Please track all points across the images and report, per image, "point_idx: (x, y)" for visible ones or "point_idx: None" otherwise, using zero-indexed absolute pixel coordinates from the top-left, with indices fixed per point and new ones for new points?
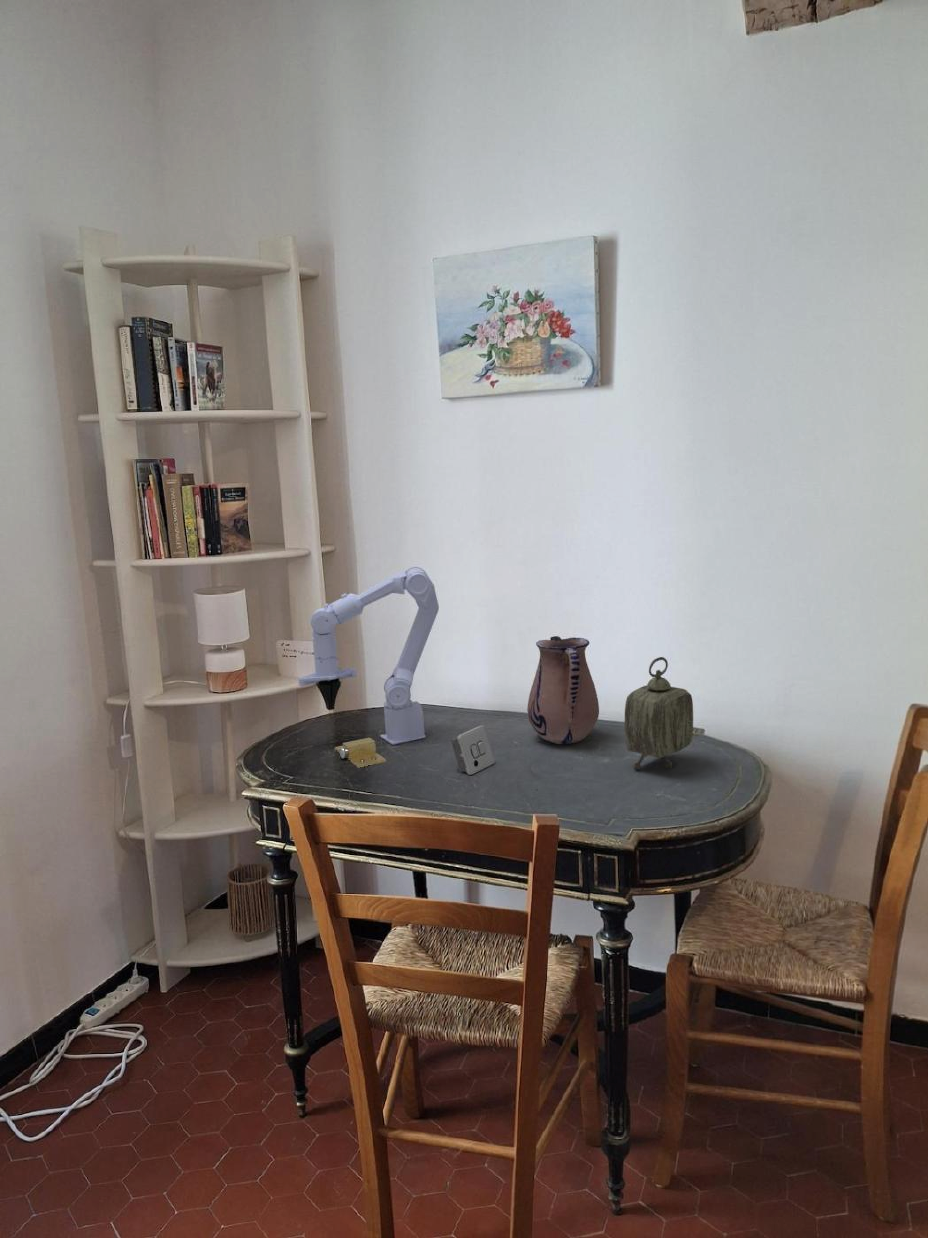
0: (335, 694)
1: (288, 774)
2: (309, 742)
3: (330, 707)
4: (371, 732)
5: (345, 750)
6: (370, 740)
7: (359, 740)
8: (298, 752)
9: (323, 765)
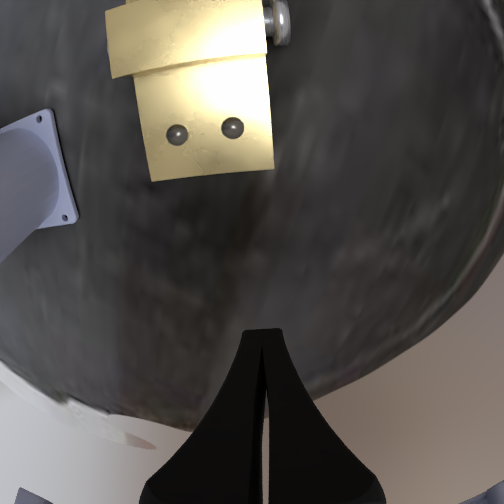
0: (218, 418)
1: (490, 28)
2: (329, 294)
3: (271, 340)
4: (107, 282)
5: (267, 9)
6: (119, 31)
7: (169, 51)
8: (403, 216)
9: (374, 11)
